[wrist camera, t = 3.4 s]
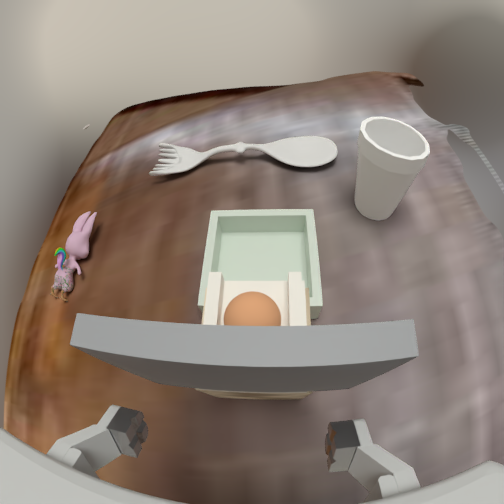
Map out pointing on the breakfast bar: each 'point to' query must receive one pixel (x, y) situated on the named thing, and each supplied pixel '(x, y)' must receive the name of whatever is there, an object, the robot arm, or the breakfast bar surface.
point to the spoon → (285, 150)
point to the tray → (263, 249)
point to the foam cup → (386, 165)
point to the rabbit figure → (73, 253)
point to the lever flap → (249, 345)
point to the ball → (252, 311)
